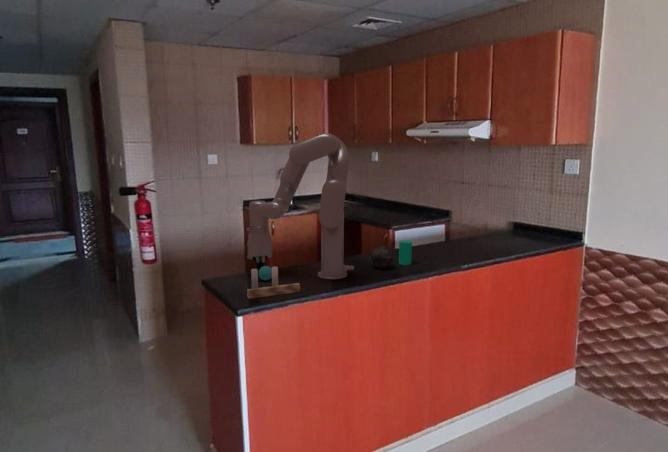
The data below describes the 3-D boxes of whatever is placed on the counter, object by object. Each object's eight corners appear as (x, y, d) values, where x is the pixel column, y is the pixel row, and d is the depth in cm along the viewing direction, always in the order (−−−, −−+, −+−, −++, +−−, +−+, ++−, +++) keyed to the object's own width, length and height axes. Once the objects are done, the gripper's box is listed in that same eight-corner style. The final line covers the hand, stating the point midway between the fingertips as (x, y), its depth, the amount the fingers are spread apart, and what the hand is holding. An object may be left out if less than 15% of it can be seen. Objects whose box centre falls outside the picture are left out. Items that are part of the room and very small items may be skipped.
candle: (410, 261, 224) (410, 237, 222) (412, 264, 218) (413, 239, 216) (397, 261, 224) (398, 237, 222) (399, 264, 218) (400, 239, 216)
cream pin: (277, 288, 182) (276, 266, 181) (279, 290, 180) (278, 267, 179) (271, 289, 182) (270, 266, 180) (273, 290, 179) (272, 268, 178)
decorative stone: (368, 265, 216) (368, 244, 214) (388, 264, 219) (388, 243, 217) (375, 271, 207) (375, 249, 205) (396, 269, 209) (396, 248, 207)
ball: (271, 277, 197) (270, 263, 196) (274, 281, 192) (274, 267, 191) (257, 279, 195) (256, 265, 194) (260, 282, 190) (260, 268, 189)
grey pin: (257, 290, 179) (256, 268, 178) (258, 292, 177) (258, 269, 176) (251, 291, 178) (250, 269, 177) (252, 293, 176) (251, 270, 175)
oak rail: (298, 290, 180) (298, 282, 179) (300, 291, 178) (300, 284, 178) (247, 297, 172) (247, 289, 172) (248, 298, 170) (248, 290, 170)
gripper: (243, 232, 192) (245, 275, 196) (278, 229, 198) (279, 271, 201) (239, 229, 199) (241, 270, 202) (273, 227, 205) (274, 267, 208)
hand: (260, 271), depth 202 cm, fingers closed
